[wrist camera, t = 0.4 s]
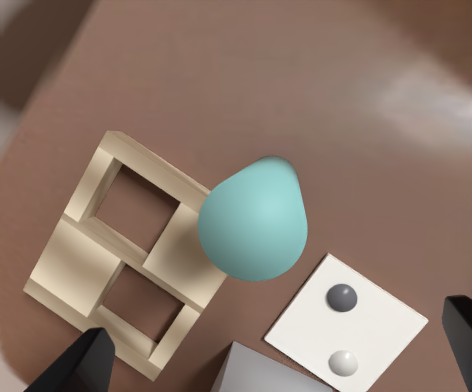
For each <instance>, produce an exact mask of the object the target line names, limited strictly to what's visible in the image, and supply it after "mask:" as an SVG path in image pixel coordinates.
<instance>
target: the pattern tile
mask: <svg viewBox="0 0 472 392" xmlns="http://www.w3.org/2000/svg"><path fill="white" fill-rule="evenodd" d="M427 322H428V320H427V318H425V317H424V316H422V315H421V314H419V313H418V312H416V311H415V310H413V309H412V308H410V307H409V306H407V305H406V304H404V303H403V302H401V301H400V300H398V299H397V298H395V297H394V296H392V295H391V294H389V293H388V292H386V291H385V290H383V289H382V288H380V287H379V286H377V285H376V284H374V283H373V282H371V281H370V280H368V279H367V278H365V277H364V276H362V275H361V274H359V273H358V272H356V271H355V270H353V269H352V268H350V267H349V266H347V265H346V264H344V263H343V262H341V261H340V260H338V259H337V258H335V257H334V256H332V255H331V254H329V253H327V255H326V256H325V257H324V259H323V260H322V261H321V263H320V264H319V265H318V267H317V268H316V269H315V270H314V272H313V273H312V274H311V276H310V277H309V278H308V280H307V281H306V282H305V284H304V285H303V286H302V288H301V289H300V290H299V292H298V293H297V294H296V296H295V297H294V298H293V299H292V301H291V302H290V303H289V305H288V306H287V307H286V309H285V310H284V311H283V313H282V314H281V315H280V317H279V318H278V319H277V321H276V322H275V323H274V325H273V326H272V327H271V328H270V330H269V331H268V332H267V334H266V335H265V336H264V340H266V341H267V342H268V343H270V344H271V345H273V346H274V347H276V348H277V349H279V350H280V351H282V352H283V353H285V354H286V355H287V356H289V357H290V358H292V359H293V360H295V361H296V362H298V363H299V364H301V365H302V366H304V367H305V368H306V369H308V370H309V371H311V372H312V373H314V374H315V375H317V376H318V377H320V378H321V379H323V380H324V381H325V382H327V383H328V384H330V385H331V386H333V387H334V388H336V389H337V390H339V391H340V392H366V391H367V390H368V389H369V387H370V386H371V385H372V384H373V383H374V382H375V381H376V380H377V379H378V377H379V376H380V375H381V374H382V373H383V372H384V371H385V370H386V368H387V367H388V366H389V365H390V364H391V363H392V362H393V361H394V359H395V358H396V357H397V356H398V355H399V354H400V353H401V352H402V350H403V349H404V348H405V347H406V346H407V345H408V344H409V343H410V341H411V340H412V339H413V338H414V337H415V336H416V335H417V334H418V333H419V331H420V330H421V329H422V328H423V327H424V326H425V325H426V324H427Z"/></svg>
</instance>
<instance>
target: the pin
mask: <svg viewBox="0 0 472 392" xmlns="http://www.w3.org/2000/svg"><path fill="white" fill-rule="evenodd" d="M198 234H199V239H200V243H201V246H202V248H203V250H204V252H205V254H206V255H207V257H208V258H209V259H210V261H211V262H212V263H213V264H214V265H215V266H216V267H217V268H218V269H220V270H221V271H222V272H224V273H226V274H227V275H229V276H232V277H234V278H237V279H240V280H245V281H264V280H269V279H272V278H275V277H277V276H279V275H281V274H283V273H284V272H286V271H287V270H288V269H289V268H291V267H292V266H293V265H294V264H295V262H296V261H297V260H298V258H299V257H300V255H301V253H302V251H303V249H304V246H305V243H306V239H307V220H306V215H305V210H304V206H303V201H302V196H301V192H300V187H299V182H298V178H297V174H296V171H295V169H294V167H293V166H292V165H291V163H289V162H288V161H287V160H286V159H284V158H281V157H278V156H266V157H263V158H260V159H259V160H257V161H256V162H254V163H252V164H251V165H249V166H248V167H246V168H244V169H243V170H241V171H240V172H238V173H236V174H235V175H233V176H232V177H230V178H228V179H227V180H225V181H224V182H222V183H220V184H219V185H218V186H217V187H215V188H214V189H213V190H212V191H211V192H210V193H209V195H208V196H207V197H206V199H205V201H204V203H203V204H202V207H201V210H200V213H199V217H198Z"/></svg>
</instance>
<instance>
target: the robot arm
mask: <svg viewBox="0 0 472 392" xmlns="http://www.w3.org/2000/svg"><path fill="white" fill-rule="evenodd" d="M442 325H443V328H444V331H445V333H446V336H447V338H448V341H449V343H450V346H451V348H452V351H453V354H454V356H455V359H456V361H457V364H458V366H459V369H460V371H461V374H462V376H463V379H464V381H465V384H466V386H467V389H468V391H469V392H472V299H470V298H469V297H467V296H465V295H453V296H447V297H446V298H445V301H444V307H443V313H442ZM114 357H115V344H114V342H113V341H112V339H111V337H110V336H109V334H108V332H107V330H106V329H105V328H104V327H93V328H89V329H87V330H86V331H85V332H84V333H83V334H82V335H81V336H80V337H79V338H78V339H77V340H76V341H75V342H74V343H73V344H72V345H71V346H70V347H69V348H68V349H67V350H66V351H65V352H64V353H63V354H61V355H60V356H59V357H58V358H57V359H56V360H55V361H54V362H53V363H52V364H51V365H50V366H49V367H48V368H47V369H46V370H45V371H44V372H43V373H42V374H41V375H40V376H39V377H38V378H37V379H36V380H35V381H34V382H33V383H32V384H31V385H30V386H29V387H28V388H27V389H26V390H25V391H24V392H108V388H109V383H110V378H111V372H112V367H113V362H114Z"/></svg>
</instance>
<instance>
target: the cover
mask: <svg viewBox="0 0 472 392" xmlns="http://www.w3.org/2000/svg"><path fill="white" fill-rule="evenodd" d="M210 392H333V391H332V388H331V387H329V386H327V385H325V384H322V383H320V382H318V381H316V380H314V379H312V378H310V377H308V376H306V375H304V374H302V373H300V372H297V371H295V370H293V369H291V368H289V367H287V366H285V365H283V364H281V363H279V362H277V361H274V360H272V359H270V358H268V357H266V356H264V355H262V354H260V353H258V352H256V351H254V350H252V349H249V348H247V347H245V346H243V345H241V344H239V343H237V342H235V341H233V344H232V346H231V348H230V350H229V352H228V354H227V356H226V359H225V361H224V363H223V365H222V367H221V369H220V371H219V374H218V376H217V378H216V380H215V382H214V384H213V386H212V388H211V391H210Z"/></svg>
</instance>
